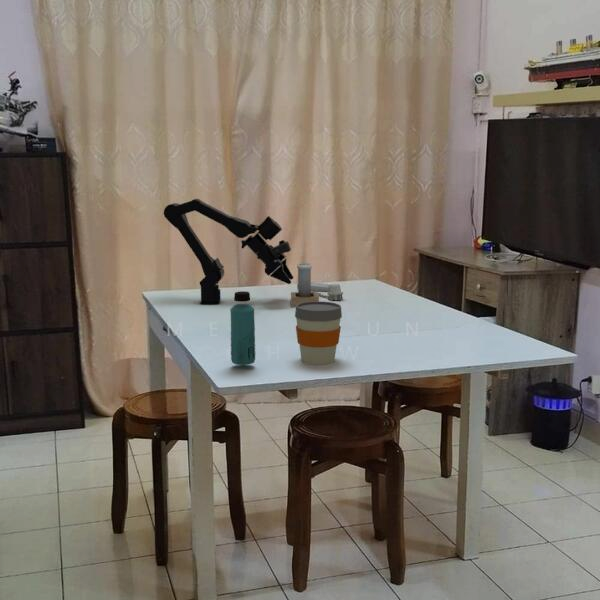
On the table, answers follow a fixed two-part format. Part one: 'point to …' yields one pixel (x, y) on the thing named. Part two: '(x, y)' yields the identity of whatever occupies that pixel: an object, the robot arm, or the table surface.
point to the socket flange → (302, 298)
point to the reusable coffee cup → (318, 331)
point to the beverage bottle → (242, 331)
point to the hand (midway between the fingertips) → (291, 280)
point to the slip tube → (304, 279)
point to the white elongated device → (327, 290)
